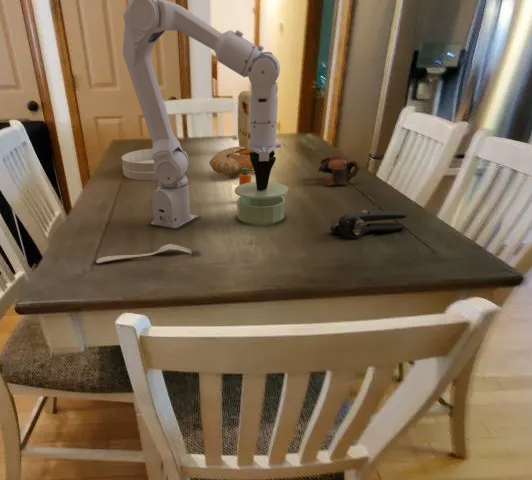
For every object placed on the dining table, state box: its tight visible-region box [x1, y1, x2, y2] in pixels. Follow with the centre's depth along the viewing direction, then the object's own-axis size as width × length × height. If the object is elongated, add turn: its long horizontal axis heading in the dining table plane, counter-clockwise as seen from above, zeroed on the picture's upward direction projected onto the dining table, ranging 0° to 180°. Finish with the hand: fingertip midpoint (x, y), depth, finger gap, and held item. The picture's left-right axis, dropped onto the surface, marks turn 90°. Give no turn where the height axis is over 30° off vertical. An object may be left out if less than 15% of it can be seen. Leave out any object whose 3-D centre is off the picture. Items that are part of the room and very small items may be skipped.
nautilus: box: [208, 146, 276, 178], centre depth 146 cm, size 8×22×15 cm
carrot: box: [238, 168, 252, 197], centre depth 122 cm, size 3×3×9 cm
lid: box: [234, 181, 290, 200], centre depth 107 cm, size 12×12×4 cm
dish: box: [121, 148, 190, 181], centre depth 155 cm, size 22×22×5 cm
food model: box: [237, 90, 251, 148], centre depth 167 cm, size 10×7×20 cm
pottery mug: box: [317, 155, 361, 187], centre depth 137 cm, size 12×10×8 cm
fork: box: [96, 243, 192, 264], centre depth 98 cm, size 3×21×3 cm, turn 98°
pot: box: [236, 196, 286, 225], centre depth 114 cm, size 12×12×4 cm
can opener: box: [329, 209, 408, 240], centre depth 102 cm, size 18×7×6 cm, turn 106°
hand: (261, 187), depth 107 cm, fingers closed on lid, 2 cm apart
